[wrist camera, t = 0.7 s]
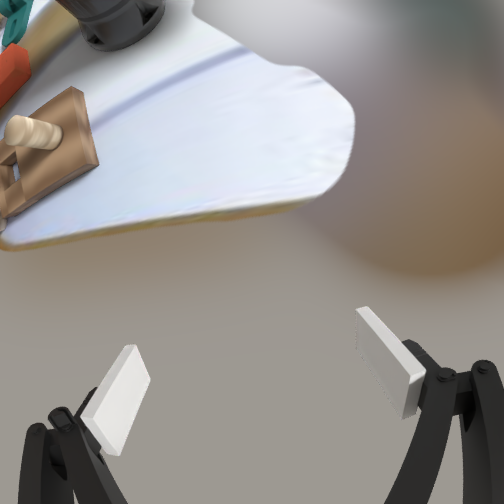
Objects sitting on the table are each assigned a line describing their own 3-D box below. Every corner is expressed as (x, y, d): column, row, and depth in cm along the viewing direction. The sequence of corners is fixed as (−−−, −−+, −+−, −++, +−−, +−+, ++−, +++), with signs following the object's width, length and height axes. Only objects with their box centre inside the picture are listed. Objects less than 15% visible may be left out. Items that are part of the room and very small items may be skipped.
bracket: (17, 4, 26) (1, -6, 19) (36, -10, 26) (21, -22, 19) (5, 53, 30) (-15, 44, 23) (24, 38, 30) (5, 27, 23)
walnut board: (3, 151, 36) (-46, 149, 22) (83, 92, 35) (35, 67, 21) (15, 215, 39) (-36, 227, 25) (99, 164, 38) (46, 159, 24)
